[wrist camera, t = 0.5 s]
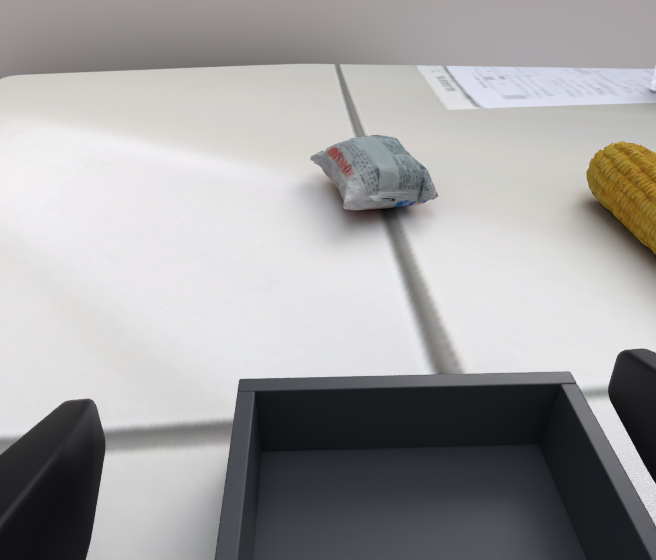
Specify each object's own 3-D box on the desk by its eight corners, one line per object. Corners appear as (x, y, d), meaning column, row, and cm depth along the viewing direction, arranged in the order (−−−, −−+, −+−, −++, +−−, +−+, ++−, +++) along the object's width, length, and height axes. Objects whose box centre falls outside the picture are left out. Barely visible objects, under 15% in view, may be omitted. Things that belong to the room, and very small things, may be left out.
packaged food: (342, 231, 46) (344, 177, 43) (309, 174, 55) (309, 127, 52) (437, 220, 48) (445, 167, 45) (390, 166, 57) (394, 120, 54)
